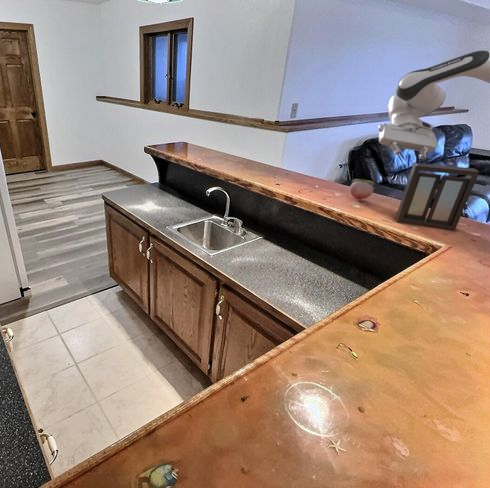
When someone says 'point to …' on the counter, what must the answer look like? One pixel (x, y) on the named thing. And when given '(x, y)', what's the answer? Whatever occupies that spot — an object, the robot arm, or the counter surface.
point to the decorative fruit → (361, 188)
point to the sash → (422, 195)
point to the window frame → (441, 196)
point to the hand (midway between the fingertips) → (410, 155)
